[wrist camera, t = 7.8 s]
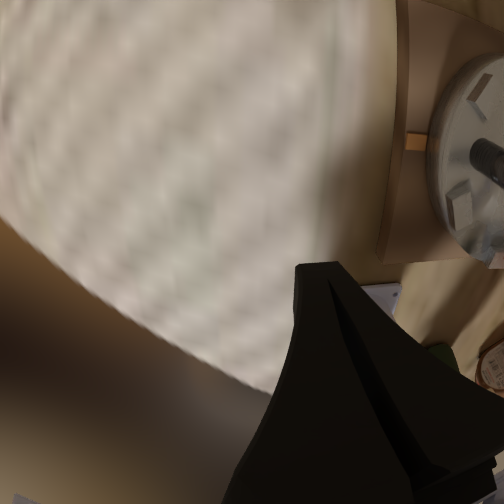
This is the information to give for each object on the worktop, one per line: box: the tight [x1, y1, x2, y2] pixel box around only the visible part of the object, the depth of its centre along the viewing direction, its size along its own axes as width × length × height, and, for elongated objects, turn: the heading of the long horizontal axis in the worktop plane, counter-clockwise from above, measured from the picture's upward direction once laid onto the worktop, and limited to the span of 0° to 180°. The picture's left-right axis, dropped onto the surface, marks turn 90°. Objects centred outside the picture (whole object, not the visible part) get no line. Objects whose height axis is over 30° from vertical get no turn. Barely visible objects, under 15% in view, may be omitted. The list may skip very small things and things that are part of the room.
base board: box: [376, 0, 504, 265], centre depth 16 cm, size 18×18×2 cm
